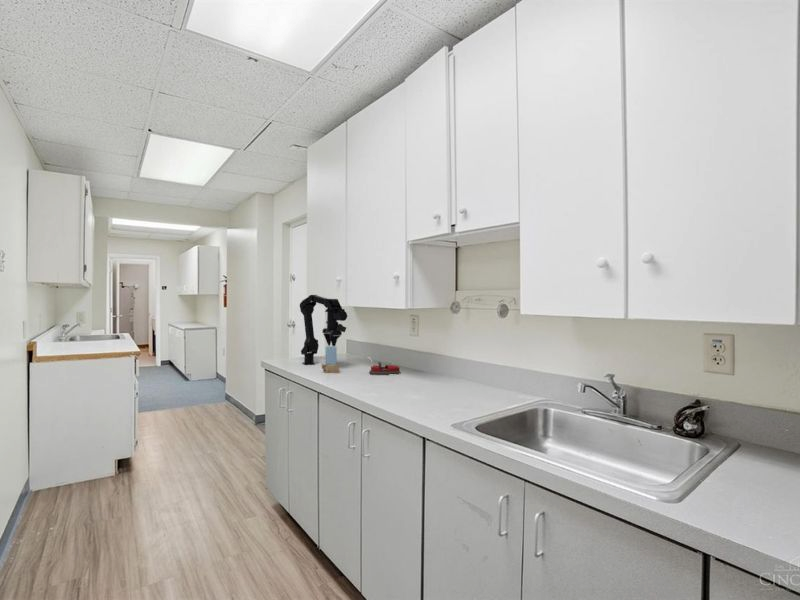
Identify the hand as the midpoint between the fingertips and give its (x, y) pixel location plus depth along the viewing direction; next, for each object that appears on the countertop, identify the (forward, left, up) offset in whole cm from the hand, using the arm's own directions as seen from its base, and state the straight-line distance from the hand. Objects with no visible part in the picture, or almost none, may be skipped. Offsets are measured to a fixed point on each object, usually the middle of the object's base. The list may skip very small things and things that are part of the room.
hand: (331, 346), depth 249 cm
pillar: (+12, -4, -8) cm, 16 cm away
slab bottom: (+13, -4, -14) cm, 19 cm away
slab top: (+13, -4, -11) cm, 17 cm away
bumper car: (+25, +22, -14) cm, 36 cm away
